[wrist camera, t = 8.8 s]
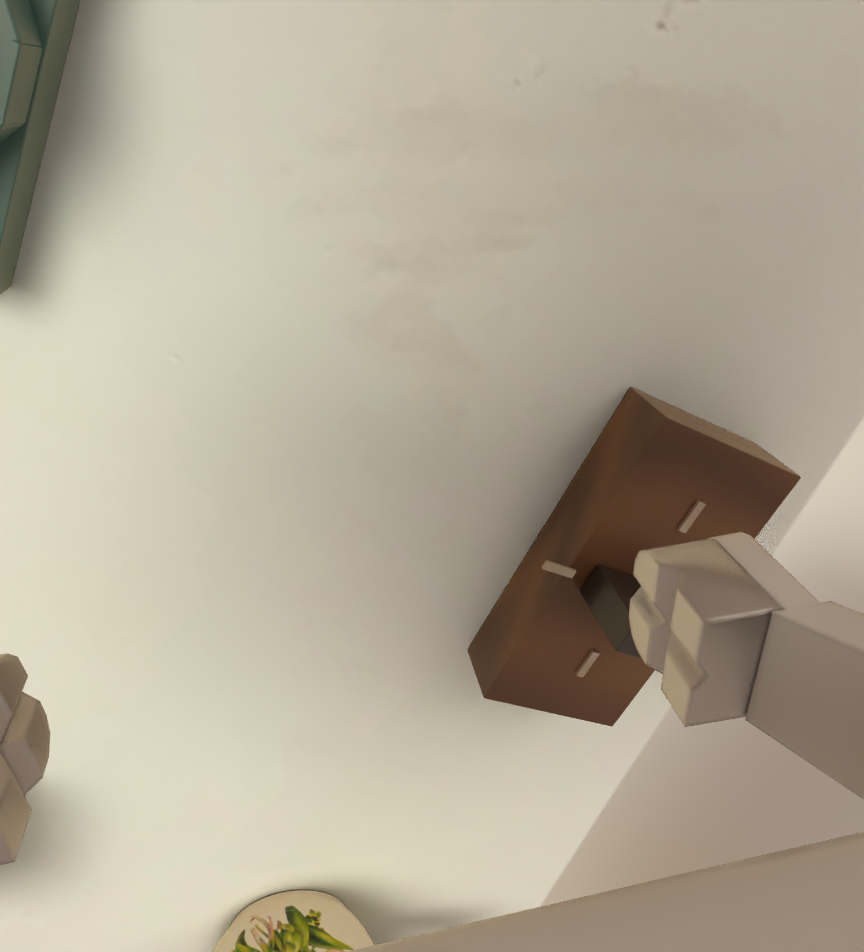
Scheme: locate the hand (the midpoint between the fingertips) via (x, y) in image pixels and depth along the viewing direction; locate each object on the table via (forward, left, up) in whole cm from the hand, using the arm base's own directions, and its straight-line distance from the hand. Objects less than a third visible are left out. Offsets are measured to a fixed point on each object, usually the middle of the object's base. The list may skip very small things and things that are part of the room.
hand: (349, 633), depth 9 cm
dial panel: (+5, +16, -17) cm, 24 cm away
